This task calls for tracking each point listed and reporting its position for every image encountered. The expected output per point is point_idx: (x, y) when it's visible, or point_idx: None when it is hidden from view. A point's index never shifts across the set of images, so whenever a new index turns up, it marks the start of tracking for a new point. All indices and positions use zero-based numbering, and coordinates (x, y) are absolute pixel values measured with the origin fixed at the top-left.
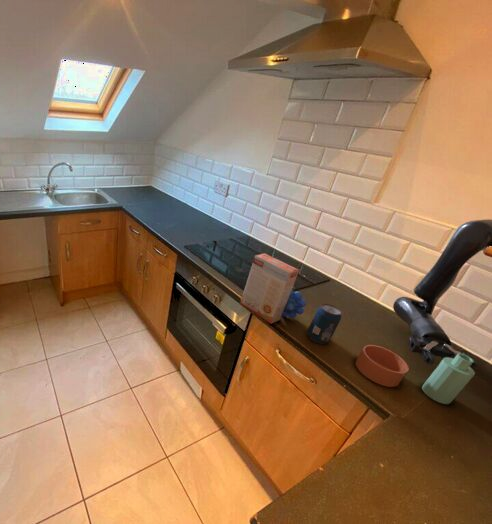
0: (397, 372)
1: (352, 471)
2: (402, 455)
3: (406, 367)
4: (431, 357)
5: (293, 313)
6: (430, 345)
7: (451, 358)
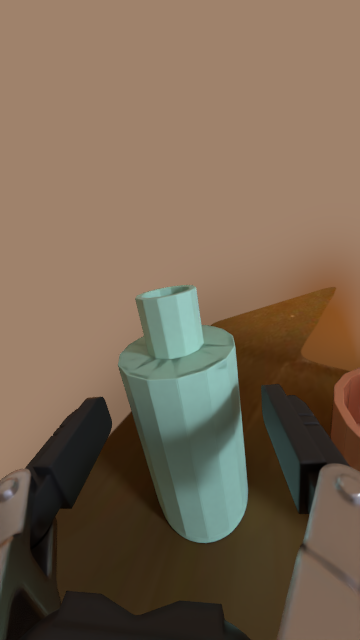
0: (357, 369)
1: (311, 306)
2: (276, 327)
3: (350, 415)
4: (280, 389)
5: None
6: (338, 601)
7: (182, 372)
